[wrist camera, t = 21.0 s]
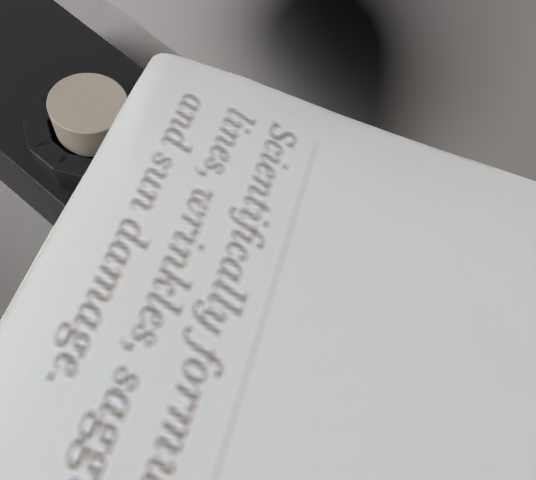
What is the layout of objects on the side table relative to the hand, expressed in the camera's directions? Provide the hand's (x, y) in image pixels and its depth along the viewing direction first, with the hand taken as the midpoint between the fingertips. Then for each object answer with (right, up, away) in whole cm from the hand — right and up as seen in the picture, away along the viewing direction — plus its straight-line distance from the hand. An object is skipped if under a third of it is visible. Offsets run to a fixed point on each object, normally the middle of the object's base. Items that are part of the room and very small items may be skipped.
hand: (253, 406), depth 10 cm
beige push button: (-9, +10, +16) cm, 21 cm away
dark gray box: (-14, +10, +24) cm, 29 cm away
